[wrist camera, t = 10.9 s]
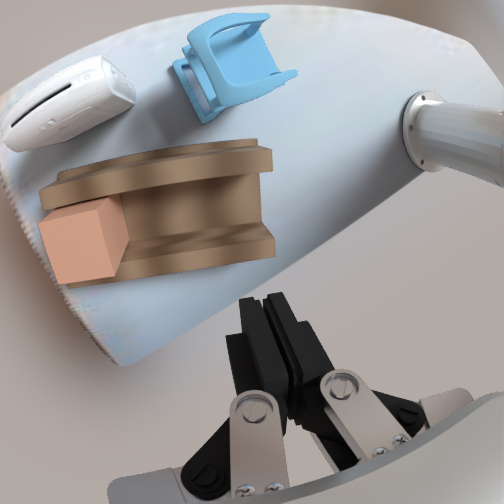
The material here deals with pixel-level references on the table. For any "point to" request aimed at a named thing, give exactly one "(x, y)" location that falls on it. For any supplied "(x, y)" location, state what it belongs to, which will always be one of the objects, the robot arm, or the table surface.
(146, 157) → the chute
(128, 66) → the table surface
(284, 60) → the table surface
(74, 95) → the photo printer
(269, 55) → the chair
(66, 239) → the block
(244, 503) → the robot arm
